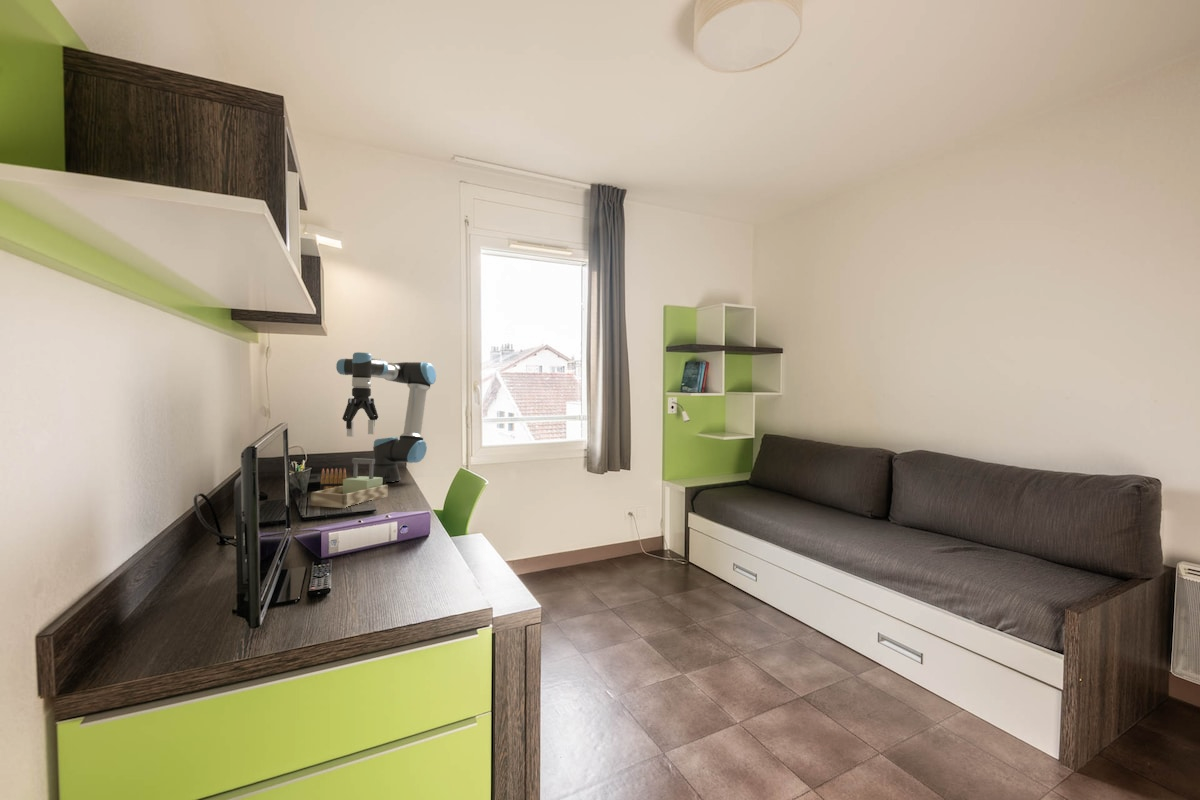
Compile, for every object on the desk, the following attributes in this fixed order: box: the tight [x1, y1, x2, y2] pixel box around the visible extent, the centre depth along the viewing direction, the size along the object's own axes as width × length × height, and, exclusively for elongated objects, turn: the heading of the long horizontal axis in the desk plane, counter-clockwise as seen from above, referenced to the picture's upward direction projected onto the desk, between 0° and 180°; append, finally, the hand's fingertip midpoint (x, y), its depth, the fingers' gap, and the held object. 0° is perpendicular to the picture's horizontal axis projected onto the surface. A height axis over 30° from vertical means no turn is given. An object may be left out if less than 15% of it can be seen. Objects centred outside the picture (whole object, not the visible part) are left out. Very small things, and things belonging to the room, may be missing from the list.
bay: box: [310, 484, 389, 509], centre depth 208 cm, size 26×16×5 cm, turn 166°
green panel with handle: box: [343, 457, 384, 494], centre depth 215 cm, size 10×12×16 cm
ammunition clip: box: [319, 467, 347, 491], centre depth 221 cm, size 11×2×12 cm, turn 103°
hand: (360, 435), depth 218 cm, fingers open, 13 cm apart
